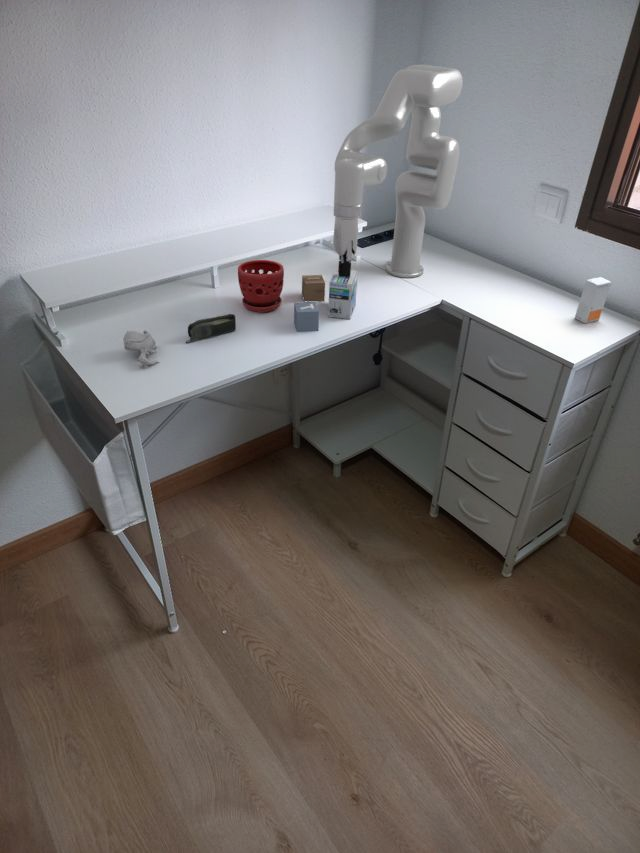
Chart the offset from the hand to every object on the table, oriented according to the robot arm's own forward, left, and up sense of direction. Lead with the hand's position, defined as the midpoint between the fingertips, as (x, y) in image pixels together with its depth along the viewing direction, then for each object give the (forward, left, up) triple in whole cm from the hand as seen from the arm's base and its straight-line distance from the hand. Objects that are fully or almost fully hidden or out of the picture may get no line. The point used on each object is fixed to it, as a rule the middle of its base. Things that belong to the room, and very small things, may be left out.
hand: (344, 274), depth 176 cm
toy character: (+22, -55, -11) cm, 61 cm away
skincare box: (+13, +71, -11) cm, 73 cm away
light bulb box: (0, 0, -11) cm, 11 cm away
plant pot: (-6, -23, -11) cm, 26 cm away
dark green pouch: (+12, -38, -11) cm, 42 cm away
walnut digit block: (-10, -7, -11) cm, 16 cm away
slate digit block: (+9, -12, -11) cm, 19 cm away
